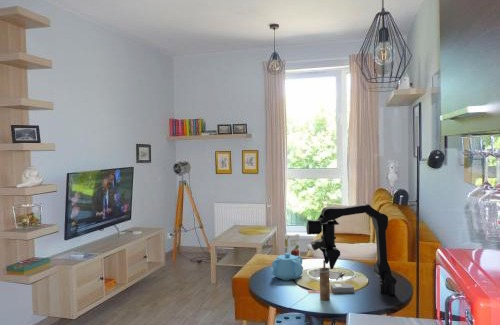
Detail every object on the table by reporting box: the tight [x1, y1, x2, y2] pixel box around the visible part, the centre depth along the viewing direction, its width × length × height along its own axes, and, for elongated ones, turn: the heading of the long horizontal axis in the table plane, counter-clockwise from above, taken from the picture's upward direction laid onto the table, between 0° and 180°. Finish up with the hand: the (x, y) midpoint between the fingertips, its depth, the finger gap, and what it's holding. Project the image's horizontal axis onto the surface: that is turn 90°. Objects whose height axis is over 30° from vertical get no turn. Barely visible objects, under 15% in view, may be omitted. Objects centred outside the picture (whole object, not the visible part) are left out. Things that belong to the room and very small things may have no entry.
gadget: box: [308, 268, 343, 281], centre depth 218 cm, size 23×15×4 cm, turn 154°
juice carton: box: [283, 232, 301, 261], centre depth 244 cm, size 8×9×19 cm
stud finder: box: [330, 282, 355, 294], centre depth 192 cm, size 10×6×3 cm, turn 93°
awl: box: [319, 259, 331, 302], centre depth 182 cm, size 4×4×18 cm
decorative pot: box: [271, 252, 304, 282], centre depth 218 cm, size 16×16×14 cm
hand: (329, 266), depth 188 cm, fingers open, 9 cm apart
